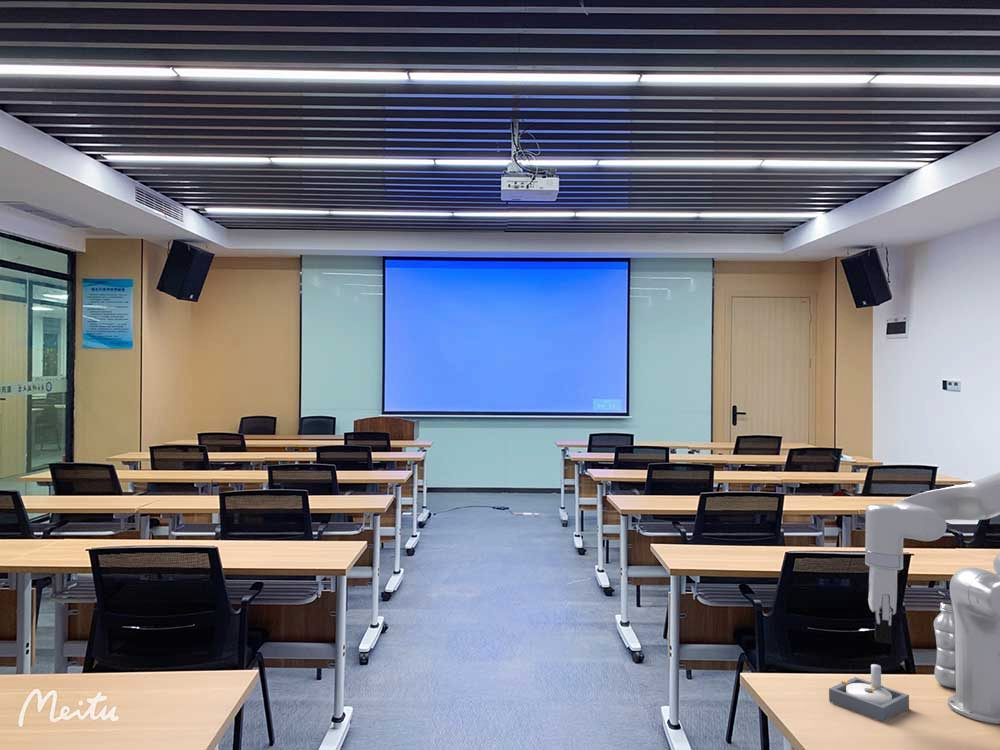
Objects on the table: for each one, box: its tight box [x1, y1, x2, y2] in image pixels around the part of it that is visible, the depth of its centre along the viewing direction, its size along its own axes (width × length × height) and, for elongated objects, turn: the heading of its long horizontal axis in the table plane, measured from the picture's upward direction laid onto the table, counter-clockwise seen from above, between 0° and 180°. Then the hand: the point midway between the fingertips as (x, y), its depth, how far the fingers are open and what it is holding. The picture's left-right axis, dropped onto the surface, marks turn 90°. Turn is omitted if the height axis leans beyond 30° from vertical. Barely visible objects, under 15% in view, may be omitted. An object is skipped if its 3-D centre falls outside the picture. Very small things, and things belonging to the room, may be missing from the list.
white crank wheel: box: [846, 663, 892, 705], centre depth 154 cm, size 9×9×7 cm
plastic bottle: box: [933, 601, 956, 689], centre depth 166 cm, size 6×7×20 cm
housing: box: [828, 677, 910, 723], centre depth 154 cm, size 12×12×4 cm
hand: (883, 641), depth 153 cm, fingers closed
